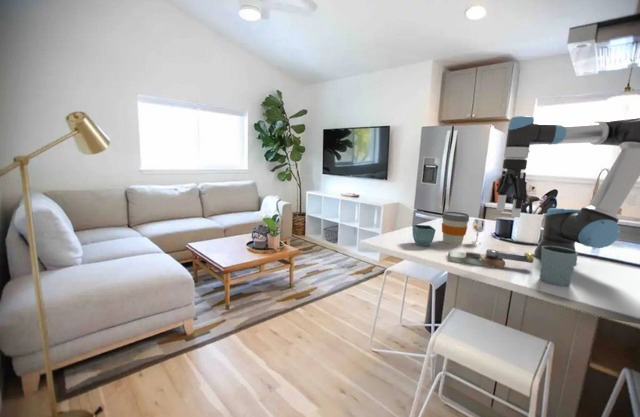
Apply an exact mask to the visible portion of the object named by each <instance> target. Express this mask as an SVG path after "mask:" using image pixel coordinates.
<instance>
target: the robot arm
mask: <svg viewBox="0 0 640 417" xmlns="http://www.w3.org/2000/svg"><path fill="white" fill-rule="evenodd" d="M534 120H535V118H534V116H530V115H520V116H519V115H517V116H513V117H511V118H510V120H509V124H508V128H507V136H506V143H505V150H504V155H503V158H505V159H503V164H502V168H503V169H504V170H502V173H501V176H500V180H499V183H498V185H497V188H496V193H497V194H498V196H497V201H496V202H497V204H496V209H495V210H496V211H499V212H505V209H506V208H505V206H506V200H507V196H508V191H509V189H510V187H511V186H512V191H513V194H514V197H513V198H512V199H513V201H512V208H511V213H510V217H511V218H521V213H522V206H523V202H524V200H527V198H528V195H527V192H528V191H527V182H526V176H527V173H526V172H522V171H525V170H526V169H527V165H528V160H527V158H529V153H530V147H531V145H558V144H560V145H561V144H580V143H581V144H583V143H585V144H588V143H590V144H591V145H595V146H598V145H602V146H603V145H605V146H616V147H619V148H620V149H621V150H620V152H619V154H618V156H617V157H616V159H615V160H614V162H613V164H612V166H611V168H609V171H608V172H607V174H606V175H605V177H604V179H603V181H602V183H601V184H600V186H599V187H598V189H597V190H596V193H595V194H594V196H593V197H592V199H591V201H590V203H589V204H588V205H586V206H582V207H581V209H578V208H577V209H575V208H561V207H559V208H557V207H550V208H548V209H547V211H546V214H545V216H544V217H545V219H544V225H543V230H542V236H541V240H540V241H539V244H538V245H537V246H536V248H535V249H534V253H533V254H534V257H536V258H539V259H540V260H541V248H542V246H558V247H564V248H568V249H572V250H574V251H576V243H577V244H580V245H583V246H584V247H590V248H593V249H594V248H595V249H604V248H607V247H609V246H611V245H613V244H614V243H615V242H616V241H617V240H618V238H619V236H620V233H621V231H620V230H621V228H620V225H619V224H618V222H619V220H620V219H619V216H618V215H617V214H618V212H619V210H620V209H621V207H622V206H623V204H624V202H626V201H625V200H626V199H627V197H628V196H629V194H630V192H631V191H632V189H633V188H634V186H635V185H636V182H638V179H639V178H640V115H639V114H638V115H632V116H631V115H630V116H625V117H618V118H614V119H609V120H608V119H607V120H603V121H602V120H597V121H594V122H593V123H585V124H583V123H582V124H578V123H577V124H561V123H556V122H554V123H552V122H551V123H547V122H546V123H543V122H534ZM576 252H577V251H576ZM577 261H578V257H577V258H576V262H575V264H577Z"/></svg>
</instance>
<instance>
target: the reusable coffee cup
mask: <svg viewBox="0 0 640 417" xmlns="http://www.w3.org/2000/svg"><path fill="white" fill-rule="evenodd" d="M441 219H442V222H441V232H442V242H443V243H445V244H447V245H453V246H460V245H462V244H463V241H464V238H465V236H466V233H467V229H468V223H469V221H470V215H469V214H468V213H463V212H459V211H443V213H442V217H441Z"/></svg>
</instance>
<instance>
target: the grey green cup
mask: <svg viewBox="0 0 640 417" xmlns="http://www.w3.org/2000/svg"><path fill="white" fill-rule="evenodd" d="M578 255H579V252H578V251H574V250H572V249H568V248H564V247H558V246H542V248H541V259H540V270H539V273H540V274H539V279H540V280H541V281H542V282H544V283H547V284H551V285H554V286H559V287H568V286H569V285H570V283H571V280H572V274H573V271H574V267H575V262H576V258H577V259H578ZM576 263H577V262H576Z"/></svg>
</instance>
